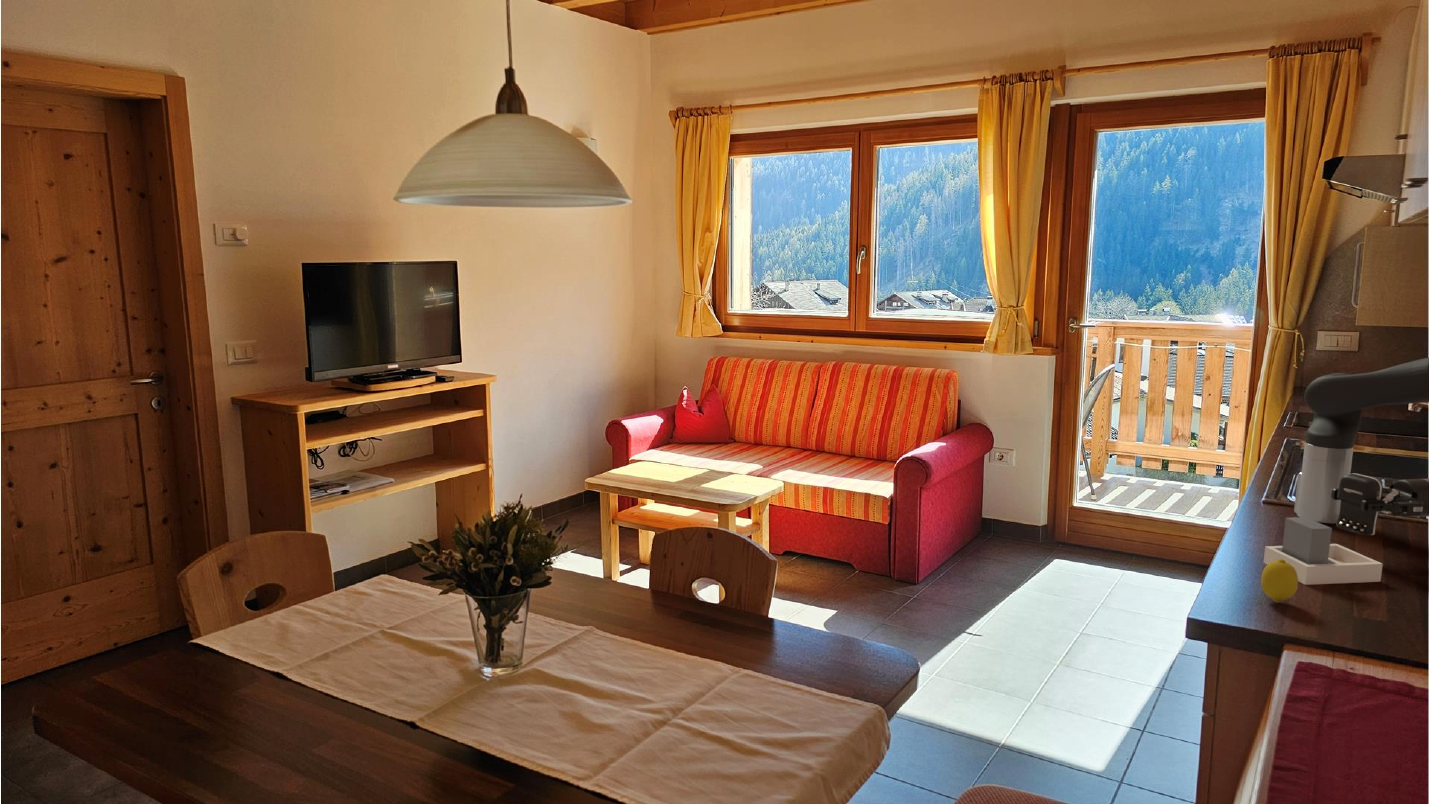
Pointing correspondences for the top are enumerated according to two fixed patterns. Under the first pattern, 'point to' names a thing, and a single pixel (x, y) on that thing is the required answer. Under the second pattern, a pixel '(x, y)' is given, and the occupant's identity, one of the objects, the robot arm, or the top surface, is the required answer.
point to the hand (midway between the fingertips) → (1347, 500)
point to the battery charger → (1358, 503)
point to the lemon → (1279, 580)
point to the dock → (1332, 568)
